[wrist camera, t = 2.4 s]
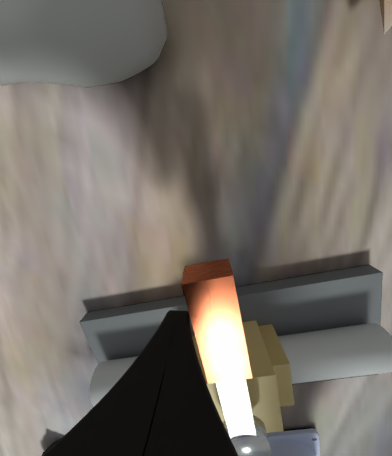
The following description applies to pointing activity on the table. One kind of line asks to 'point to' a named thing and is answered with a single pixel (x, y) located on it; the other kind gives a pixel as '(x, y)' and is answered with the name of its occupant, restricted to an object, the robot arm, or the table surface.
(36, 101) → the table surface
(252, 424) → the valve lever
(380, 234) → the table surface
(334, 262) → the table surface
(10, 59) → the screwdriver
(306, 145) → the table surface
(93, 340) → the valve stand
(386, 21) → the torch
